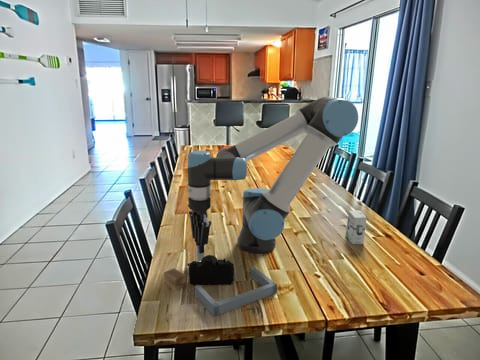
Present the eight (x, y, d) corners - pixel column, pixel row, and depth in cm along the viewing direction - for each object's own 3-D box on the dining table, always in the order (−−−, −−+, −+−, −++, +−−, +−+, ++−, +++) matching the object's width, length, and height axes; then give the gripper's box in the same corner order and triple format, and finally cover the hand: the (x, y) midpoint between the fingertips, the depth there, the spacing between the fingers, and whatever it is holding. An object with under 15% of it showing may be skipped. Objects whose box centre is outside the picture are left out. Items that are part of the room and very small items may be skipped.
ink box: (345, 235, 152) (347, 209, 149) (356, 235, 152) (359, 209, 149) (351, 244, 144) (354, 217, 140) (363, 244, 144) (367, 217, 141)
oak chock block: (174, 279, 116) (174, 268, 115) (185, 286, 112) (185, 275, 111) (164, 283, 114) (163, 272, 113) (175, 291, 110) (175, 279, 109)
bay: (254, 275, 119) (254, 267, 118) (276, 292, 110) (277, 284, 109) (195, 294, 108) (195, 286, 107) (214, 316, 98) (214, 307, 97)
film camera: (233, 270, 122) (233, 247, 120) (234, 286, 113) (234, 261, 110) (189, 270, 121) (188, 247, 119) (186, 286, 112) (185, 261, 110)
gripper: (181, 193, 123) (183, 254, 129) (197, 204, 112) (198, 270, 119) (201, 190, 127) (201, 250, 133) (218, 200, 116) (218, 265, 122)
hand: (200, 259), depth 126 cm, fingers closed
